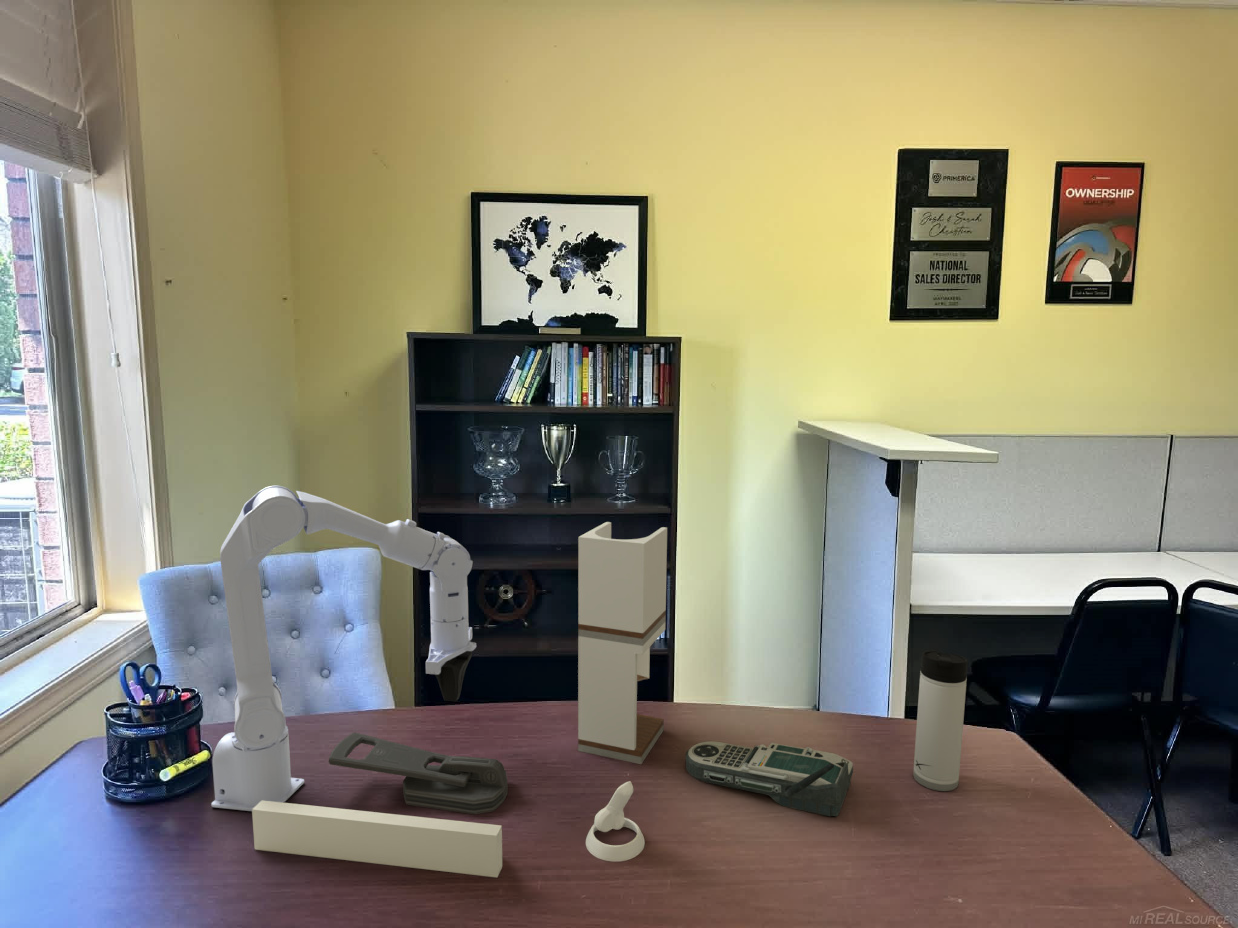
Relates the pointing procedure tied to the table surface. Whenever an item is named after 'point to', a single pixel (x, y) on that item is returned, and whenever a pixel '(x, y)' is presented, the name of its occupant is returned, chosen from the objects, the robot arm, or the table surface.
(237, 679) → the robot arm
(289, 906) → the table surface
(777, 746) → the communication device
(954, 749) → the travel mug
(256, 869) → the table surface
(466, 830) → the cream rectangular bar
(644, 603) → the white square tower
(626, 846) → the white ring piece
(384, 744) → the zipper pull
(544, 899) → the table surface
